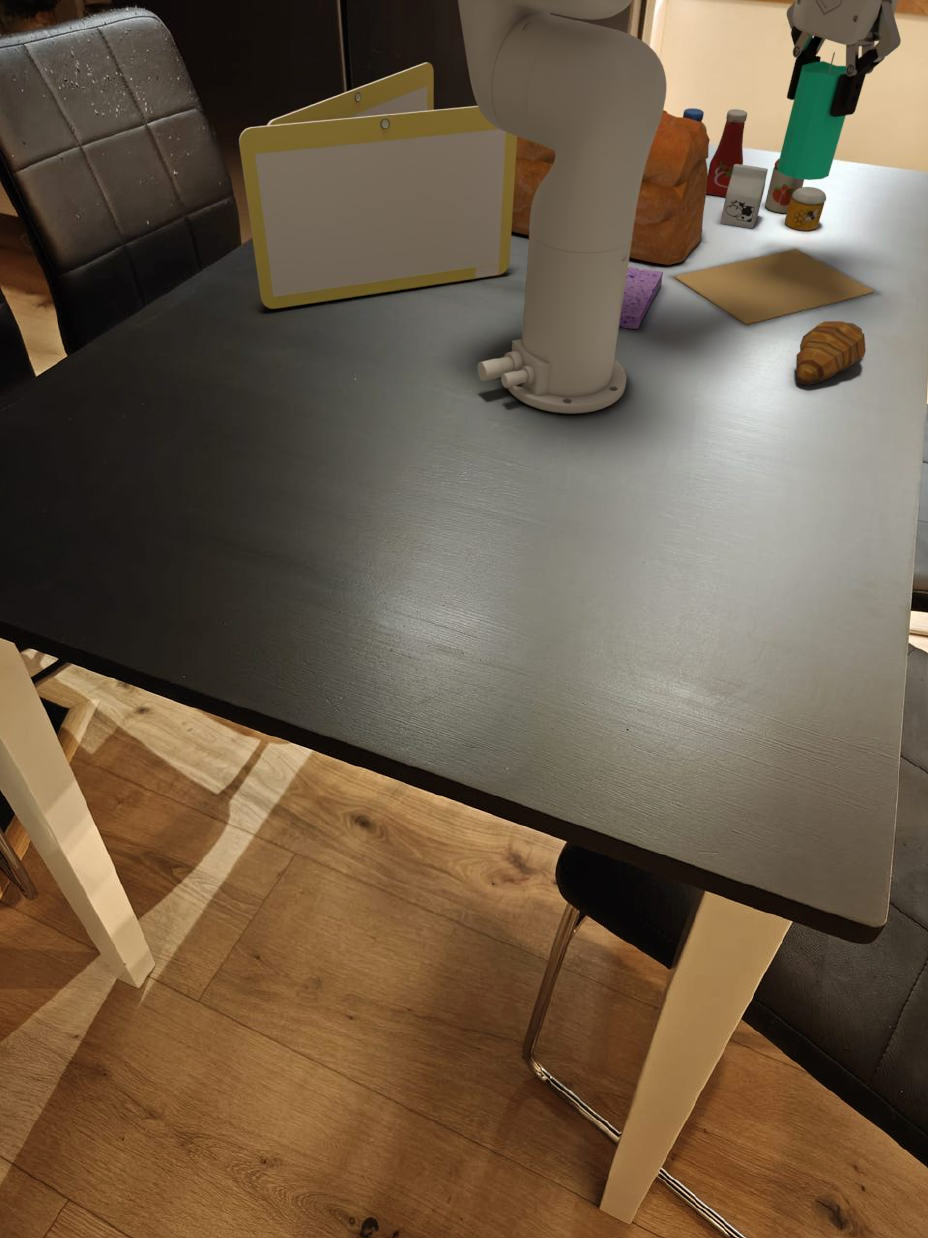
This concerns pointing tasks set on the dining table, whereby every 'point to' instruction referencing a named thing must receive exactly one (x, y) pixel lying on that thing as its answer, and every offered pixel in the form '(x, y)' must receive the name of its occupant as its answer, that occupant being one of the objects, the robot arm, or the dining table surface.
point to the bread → (641, 190)
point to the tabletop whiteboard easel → (377, 194)
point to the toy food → (755, 182)
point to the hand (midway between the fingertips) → (820, 104)
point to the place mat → (772, 286)
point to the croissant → (828, 351)
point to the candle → (812, 124)
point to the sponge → (638, 295)
